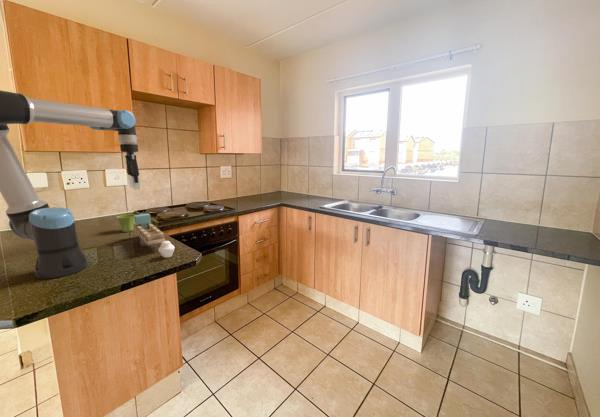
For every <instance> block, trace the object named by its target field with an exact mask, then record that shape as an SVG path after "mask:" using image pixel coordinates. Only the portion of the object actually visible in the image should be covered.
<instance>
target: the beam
mask: <svg viewBox="0 0 600 417" xmlns="http://www.w3.org/2000/svg"><path fill="white" fill-rule="evenodd" d="M133 224H134V230H133V231H134V232H135V233H136V234H137V235H138V238H139V245H141V247H142V248H143V247H147V246H148V247H149V246H152V245H156V244H157V245H158V244H161V243H162V242H164V241H166V238H165V233H164V232H163V231H161V230H160V229H159V228H158V227H156V226H155V225H154V224H152V222H151V223H147V224H148V228H146V229H143V228H142V227H141V226H140V225H137V224H136V223H133Z"/></svg>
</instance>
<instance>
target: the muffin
mask: <svg viewBox="0 0 600 417" xmlns="http://www.w3.org/2000/svg"><path fill="white" fill-rule="evenodd" d="M160 244H161V245H160V246H159V248H158V252H159V254H161V256H162V257H163V258H165V259H167V258H170V257H172V256H173V253H174V252H175V246H174V244H172V243H171V241H169V240H165V241H164V242H162V243H160Z"/></svg>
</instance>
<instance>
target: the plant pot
mask: <svg viewBox="0 0 600 417" xmlns="http://www.w3.org/2000/svg"><path fill="white" fill-rule="evenodd" d="M134 215H136V214H132V213H131V214H128V213H127V214H123V215H118V216H116V219H117V221H118V224H119V226H120V229H121V231H122V233H128V232H132V231H134V224H133V223H135V220H134Z"/></svg>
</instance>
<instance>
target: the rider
mask: <svg viewBox="0 0 600 417" xmlns="http://www.w3.org/2000/svg"><path fill="white" fill-rule="evenodd" d="M134 220H135V223H136V224H137V225H140V226H141V227H142V228H143V229H146V228H148V224H147V223H151V224H152V218H151V214H150V213H148V212H147V213H140V214H135V215H134Z"/></svg>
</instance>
